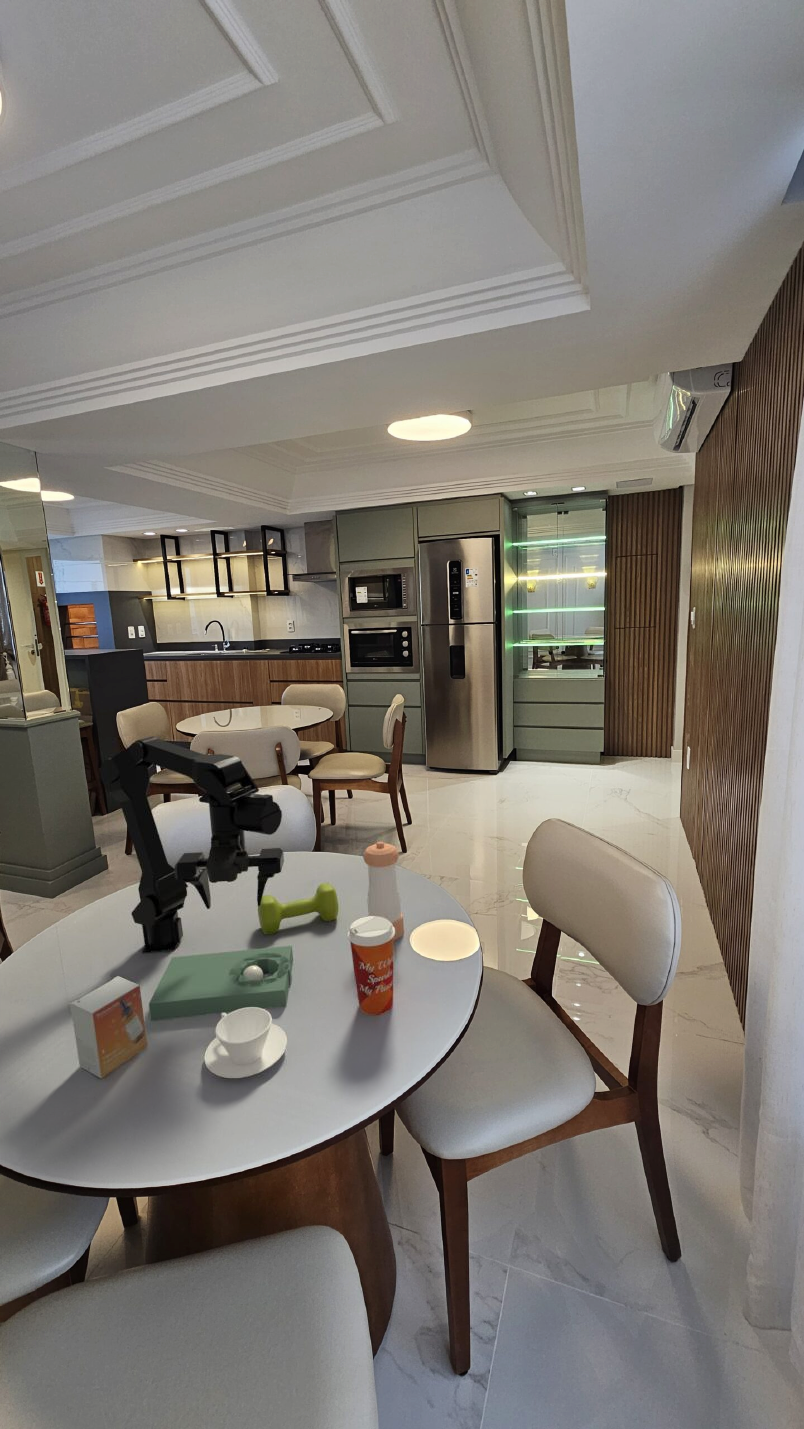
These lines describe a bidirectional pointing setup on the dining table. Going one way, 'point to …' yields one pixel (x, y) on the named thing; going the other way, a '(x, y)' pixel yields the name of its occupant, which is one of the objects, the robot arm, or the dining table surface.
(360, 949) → the paper cup
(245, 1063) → the teacup
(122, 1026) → the small box
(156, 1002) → the green slab with hollow
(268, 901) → the dumbbell
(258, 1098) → the dining table surface
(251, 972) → the ball
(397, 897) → the salt shaker
